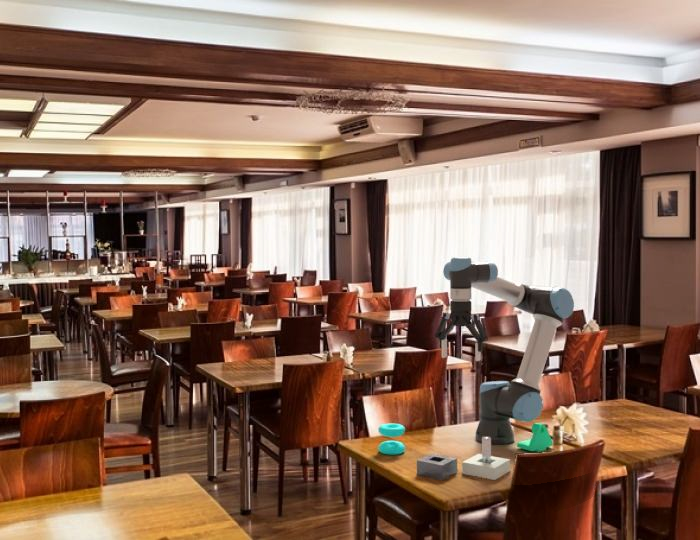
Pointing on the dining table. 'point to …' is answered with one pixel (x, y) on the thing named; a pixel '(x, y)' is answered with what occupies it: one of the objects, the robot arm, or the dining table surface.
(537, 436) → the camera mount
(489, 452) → the steel pin
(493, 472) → the socket plate
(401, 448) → the donuts
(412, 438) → the dining table surface
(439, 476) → the mount block
